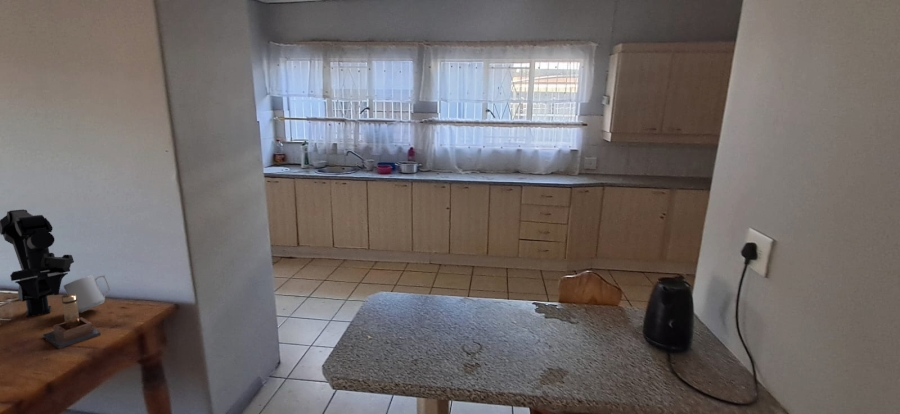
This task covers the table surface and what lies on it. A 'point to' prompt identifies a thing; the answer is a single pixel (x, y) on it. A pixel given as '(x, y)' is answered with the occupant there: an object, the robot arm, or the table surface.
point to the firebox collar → (71, 334)
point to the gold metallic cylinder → (70, 311)
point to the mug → (87, 292)
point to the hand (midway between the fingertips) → (47, 296)
